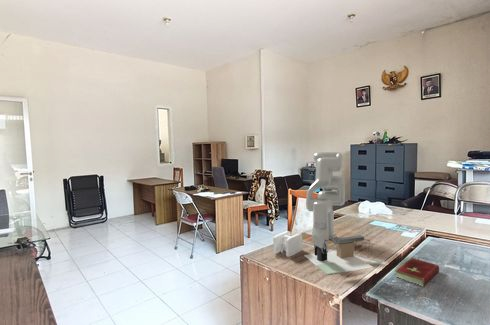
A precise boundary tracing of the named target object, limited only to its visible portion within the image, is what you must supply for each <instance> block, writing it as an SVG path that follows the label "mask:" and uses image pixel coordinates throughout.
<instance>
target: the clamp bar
mask: <svg viewBox="0 0 490 325" xmlns="http://www.w3.org/2000/svg"><path fill="white" fill-rule="evenodd" d="M331 240H332V241H331V242H332V243H333V244H335V245H337V244H341V243H349V242H353V243H354V242H363V241H365V236H363V235H352V236H351V235H350V236H346V237H343V236H342V237H336V238H335V239H331Z"/></svg>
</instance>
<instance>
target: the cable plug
mask: <svg viewBox="0 0 490 325" xmlns="http://www.w3.org/2000/svg"><path fill="white" fill-rule="evenodd" d="M323 250H325V248H323ZM321 253H322V250H321V248H319V247H318V246H317V260H318V261H322V260H321Z"/></svg>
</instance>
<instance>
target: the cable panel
mask: <svg viewBox="0 0 490 325" xmlns="http://www.w3.org/2000/svg"><path fill="white" fill-rule="evenodd" d="M354 246H355V243H354V242H349V243H341V244H336V250H332V251H328V253H327V260H324V261H318V260H317V255H316V256H315V253H311V254H304V255H303V256H304V257H305V258H306V259H308V260H309V261H310V262H311V263H312V264H314V266H315V267H317V268H319V269H320V270H321V271H322V272H323V273H325V275H328V276H330V275H334V274H335V275H336V274H341V273H346V272H353V271H360V270H364V269H371V268H373V265H371V264H369V263H368V262H366V261H364V260H362V259H360V258H359V257H357V256H356V255H354V254H355V248H354Z"/></svg>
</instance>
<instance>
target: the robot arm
mask: <svg viewBox="0 0 490 325" xmlns="http://www.w3.org/2000/svg"><path fill="white" fill-rule="evenodd" d="M313 160H314V163H315V181H314V182H312V184H311V185H310V186H309V188H308V189H307V192H306V197H305V200H306V201H305V206H306V210H307V211H308V212H313V213H312V214H313V215H312V216H313V218H312V220H313V224H312V225H313V226H312V231H311V242H312V244H314V245H313V248H314V254H315V256H316V255H317V246H318V247H319V248H321V250H322V253H321V260H322V261H324V260H327V253H328V252H330V246H329V244H330V243H329V242H330V240H332V239H335V238H337V234H336V233H335V232H334V231H335V230H334V229H335V228H334V227H335V226H334V223H335V222H334V221H335V218H334V217H335V215H334V209H333V206H344V205H345V202H346V184H345V183H346V182H345V178H344V177H343V176H341V175H334V174H333V172H334V173H335V172H339V173H340V172H341V171H342V168H343V154H342V153H341V152H339V151H331V152H330V151H320V152H315V153H314V154H313ZM320 189H322V190H320ZM317 190H320V191H318V193H317V198H316V197H313V194H314V192H317ZM323 248H325V250H323Z"/></svg>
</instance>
